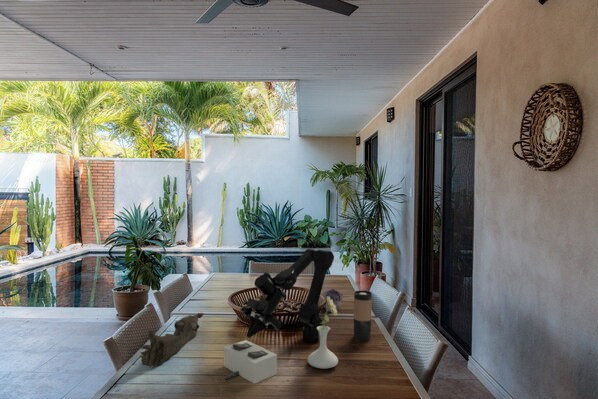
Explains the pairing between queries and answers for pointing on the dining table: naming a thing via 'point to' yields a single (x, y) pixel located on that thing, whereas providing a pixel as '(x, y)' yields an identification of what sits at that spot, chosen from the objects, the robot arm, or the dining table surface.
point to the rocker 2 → (256, 354)
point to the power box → (250, 362)
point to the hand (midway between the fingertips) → (247, 337)
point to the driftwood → (170, 341)
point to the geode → (335, 297)
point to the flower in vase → (324, 344)
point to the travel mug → (362, 315)
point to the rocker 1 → (241, 346)
